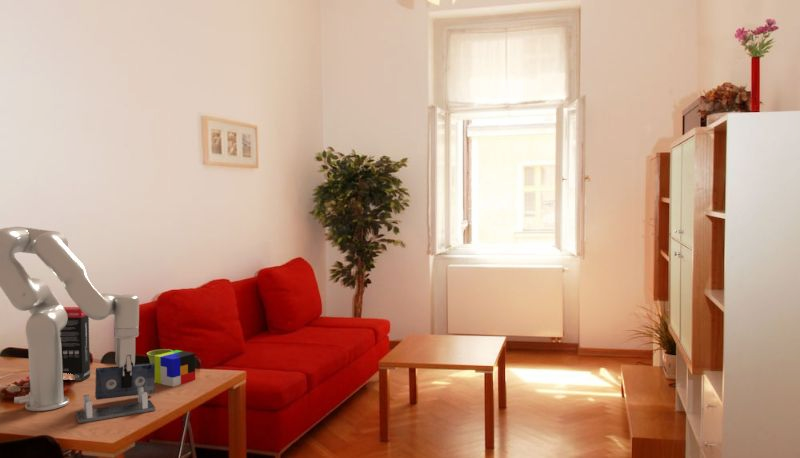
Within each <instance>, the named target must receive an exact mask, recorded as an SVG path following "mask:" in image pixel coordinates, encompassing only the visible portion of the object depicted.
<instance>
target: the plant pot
mask: <svg viewBox="0 0 800 458" xmlns="http://www.w3.org/2000/svg"><path fill="white" fill-rule="evenodd" d="M171 351H173V350H172V349H169V348H168V349H165V348H163V349H154V350H150V351H148V352H146V355H147V357H148V359H149V364H151V363H154V364H155V359H154V356H156V355H159V354H163V353H167V352H171Z"/></svg>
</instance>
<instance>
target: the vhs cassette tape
mask: <svg viewBox="0 0 800 458" xmlns="http://www.w3.org/2000/svg"><path fill="white" fill-rule="evenodd" d="M124 367H126V366H124ZM125 370H126V369H125ZM121 376H122V367H121V368H119V367H118V366H117V365H116V366H110V367H109V366H107V367H95V388H94V390H95V392H94V397H95V399H96V400H97V401H98V400H106V399H107V400H108V399H115V398H123V397H133V396H134V397H135V396H138V391H137V387H142V386H143V388H144V392H147V395H151V394H155V389H156V388H155V384H156V383H155V364H154V363H151V364H150V363H140V364H135V365H134V367H132V387H130V388H121Z"/></svg>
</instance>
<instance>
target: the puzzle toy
mask: <svg viewBox="0 0 800 458" xmlns="http://www.w3.org/2000/svg"><path fill="white" fill-rule="evenodd" d="M154 359H155V378H154V379H155V381H154V384H160V385H164V386H170V387H172V388H173V387H176V386H179V385H183V384H186V383H189V382H193V381H196V354H195V353H194V352H189V351H183V350H178V349H175V350H172V351H171V352H167V353H163V354H159V355H156V356H154Z"/></svg>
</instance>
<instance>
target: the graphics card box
mask: <svg viewBox="0 0 800 458" xmlns="http://www.w3.org/2000/svg"><path fill="white" fill-rule="evenodd" d="M63 308H64V309H65V311H66V313H67V316H68V320H67V324H66V326H65V327H64V328H63V329H62V330H61V331H60V340H61V347H62V369H63V373H67V374H68V373H69V374H70V373H71V374H73V375H74V377H75V381H74V382H83V381H85V380H86V379H89V377H91V361H90V359H91V357H90V327H89V326H90V324H89V323H90V321H89V320H90V318H89V317H88V316H87V315H86V314H85V313H84V312H83V311H82V310H81V309H80V308H79V307H78V306H63Z"/></svg>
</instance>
